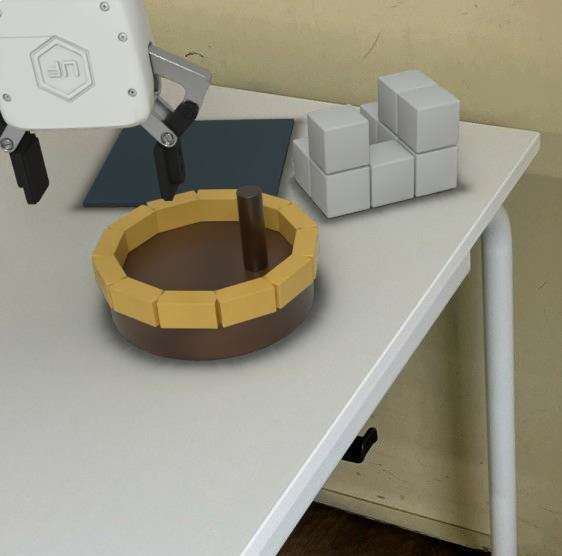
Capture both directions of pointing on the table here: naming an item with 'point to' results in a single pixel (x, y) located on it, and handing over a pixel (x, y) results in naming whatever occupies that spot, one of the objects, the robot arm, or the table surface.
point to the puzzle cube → (381, 147)
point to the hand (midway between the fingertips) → (104, 193)
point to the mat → (195, 161)
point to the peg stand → (213, 282)
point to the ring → (204, 304)
